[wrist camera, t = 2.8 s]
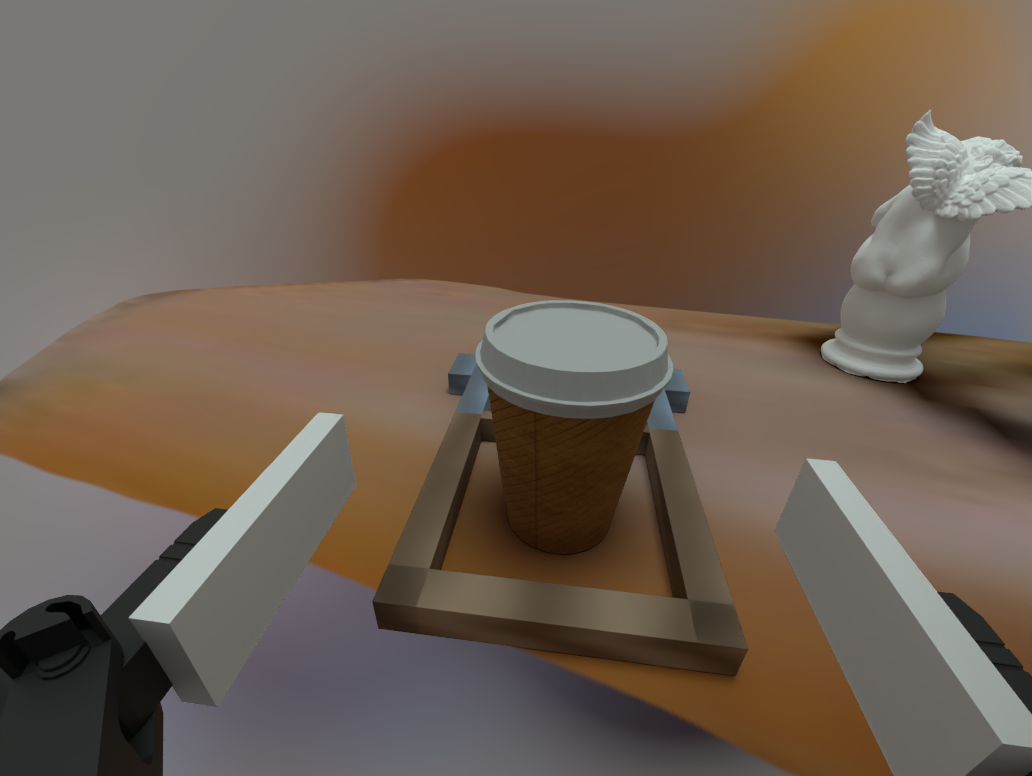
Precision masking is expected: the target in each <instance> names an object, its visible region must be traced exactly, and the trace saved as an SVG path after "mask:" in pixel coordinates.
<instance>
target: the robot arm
mask: <svg viewBox="0 0 1032 776" xmlns="http://www.w3.org/2000/svg"><path fill="white" fill-rule="evenodd" d="M356 485H357V484H356V479H355V474H354V469H353V463H352V458H351V453H350V448H349V442H348V437H347V432H346V427H345V421H344V416H343V415H341V414H331V413H320V412H319V413H318V414H317V415H316V416H315V417H314V418H313V419H312V420H311V421H310V422H309V423H308V425H307V426H306V427H305V428H304V429H303V430H302V431H301V432H300V433H299V434H298V435H297V436H296V437H295V439H294V440H293V441H292V442H291V443H290V444H289V445H288V446H287V447H286V448H285V449H284V450H283V451H282V453H281V454H280V455H279V456H278V457H277V458H276V459H275V460H274V461H273V462H272V463H271V464H270V466H269V467H268V468H267V469H266V470H265V471H264V472H263V473H262V474H261V475H260V476H259V477H258V478H257V480H256V481H255V482H254V483H253V484H252V485H251V486H250V487H249V488H248V489H247V490H246V491H245V493H244V494H243V495H242V496H241V497H240V498H239V499H238V500H237V501H236V502H235V503H234V504H233V505H232V507H231V508H230V509H229V510H226V509H217V508H215V509H214V510H212V511H210V512H209V513H207V514H206V515H204V516H202V517H201V518H199V519H198V520H196V521H195V522H193V523H192V524H191V525H190V526H189V527H188V528H187V529H186V530H185V531H184V532H183V533H182V534H181V535H180V536H179V537H178V538H177V539H176V540H175V541H174V544H173V545H170V546H169V547H168V548H167V549H166V550H165V551H164V552H163V553H162V554H161V555H160V556H159V557H160V558H159V560H155V561H154V562H153V563H152V564H151V565H150V566H149V567H148V568H147V569H146V570H145V571H144V572H143V573H142V574H141V576H139V577H138V578H137V579H136V580H135V582H133V583H132V584H131V585H130V586H129V588H127V589H126V590H125V592H124V593H123V594H122V595H121V596H120V597H119V598H118V599H117V600H116V601H115V602H114V603H113V604H112V605H111V606H110V607H109V608H108V609H107V610H106V611H105V612H104V613H103V614H102V615H101V616H100V614H99V613H98V612H97V610H96V609H95V607H94V606H93V604H92V603H91V601H90V600H88V599H86V598H85V597H83V596H78V595H76V596H75V595H66V596H62V597H58V598H54V599H50V600H47V601H45V602H43V603H40V604H38V605H36V606H34V607H32V608H30V609H28V610H26V611H25V612H23V613H22V614H20V615H19V616H17V617H16V618H14V619H13V620H11V621H10V622H9V623H8V624H6V625H5V626H4V627H3V628H2V629H1V630H0V776H163V710H162V706H161V703H160V701H161V700H162V699H163V697H164V696H165V695H166V693H167V692H168V691H169V689H170V688H171V687H173V688H174V690H175V691H176V693H177V695H178V696H179V698H180V699H181V701H182V702H188V703H195V704H201V705H207V706H213V707H217V706H218V705H219V703H220V702H221V700H222V698H223V697H224V695H225V694H226V692H227V690H228V689H229V687H230V686H231V684H232V682H233V681H234V679H235V678H236V676H237V674H238V673H239V671H240V670H241V668H242V667H243V665H244V663H245V662H246V660H247V659H248V657H249V655H250V654H251V652H252V651H253V649H254V648H255V646H256V644H257V643H258V641H259V640H260V638H261V636H262V634H263V633H264V632H265V630H266V628H267V627H268V625H269V624H270V622H271V620H272V619H273V617H274V616H275V614H276V613H277V611H278V609H279V608H280V606H281V605H282V603H283V601H284V600H285V598H286V596H287V595H288V593H289V592H290V590H291V588H292V587H293V586H294V584H295V582H296V581H297V579H298V578H299V576H300V574H301V573H302V571H303V570H304V568H305V566H306V565H307V563H308V562H309V560H310V559H311V557H312V555H313V554H314V552H315V551H316V549H317V547H318V546H319V544H320V543H321V541H322V539H323V538H324V536H325V535H326V533H327V532H328V530H329V528H330V527H331V525H332V524H333V522H334V520H335V519H336V517H337V516H338V514H339V512H340V511H341V509H342V508H343V506H344V504H345V503H346V501H347V500H348V498H349V497H350V495H351V493H352V492H353V490H354V489H355V487H356ZM774 531H775V533H776V535H777V537H778V539H779V541H780V544H781V546H782V548H783V550H784V552H785V554H786V556H787V558H788V560H789V562H790V564H791V566H792V568H793V570H794V572H795V574H796V576H797V578H798V580H799V583H800V585H801V587H802V589H803V591H804V593H805V595H806V597H807V599H808V601H809V603H810V605H811V607H812V609H813V611H814V613H815V615H816V617H817V620H818V622H819V624H820V626H821V628H822V630H823V632H824V634H825V636H826V638H827V640H828V642H829V644H830V646H831V648H832V650H833V652H834V654H835V657H836V659H837V661H838V663H839V665H840V667H841V669H842V671H843V673H844V675H845V677H846V679H847V681H848V683H849V685H850V687H851V689H852V691H853V694H854V696H855V698H856V700H857V702H858V704H859V706H860V708H861V710H862V712H863V714H864V716H865V718H866V720H867V722H868V724H869V726H870V728H871V731H872V733H873V735H874V737H875V739H876V741H877V743H878V745H879V747H880V749H881V751H882V753H883V755H884V757H885V759H886V761H887V763H888V765H889V768H890V770H891V772H892V774H893V776H1032V676H1031V675H1030V674H1029V673H1028V672H1025V671H1024V670H1023V666H1022V664H1021V663H1020V662H1019V661H1018V659H1017V658H1016V657H1015V656H1014V655H1013V653H1012V652H1011V651H1010V650H1009V649H1006V648H1005V647H1004V645H1005V644H1004V643H1003V641H1002V640H1001V639H1000V638H999V637H998V635H997V634H996V633H995V632H994V631H993V629H992V628H991V627H990V626H989V624H988V623H987V622H986V621H985V620H984V618H983V617H982V616H980V615H979V614H978V613H977V612H975V611H974V610H973V609H972V608H970V607H969V606H968V605H967V604H966V603H964V602H963V601H962V600H961V599H959V598H958V597H957V596H956V595H955V594H953V593H944V592H937V591H936V590H935V589H934V588H933V586H932V585H931V584H930V582H929V581H928V580H927V579H926V577H925V576H924V575H923V573H922V572H921V571H920V570H919V568H918V567H917V566H916V564H915V563H914V562H913V560H912V559H911V558H910V557H909V555H908V554H907V553H906V551H905V550H904V549H903V548H902V546H901V545H900V544H899V542H898V541H897V540H896V539H895V537H894V536H893V535H892V533H891V532H890V531H889V530H888V528H887V527H886V526H885V524H884V523H883V522H882V520H881V519H880V518H879V517H878V515H877V514H876V513H875V511H874V510H873V509H872V508H871V506H870V505H869V504H868V502H867V501H866V500H865V499H864V497H863V496H862V495H861V493H860V492H859V491H858V489H857V488H856V487H855V486H854V484H853V483H852V482H851V480H850V479H849V478H848V477H847V475H846V474H845V473H844V471H843V470H842V469H841V468H840V466H839V465H838V464H837V462H836V461H827V460H816V459H805V462H804V464H803V466H802V469H801V471H800V473H799V475H798V478H797V480H796V482H795V485H794V487H793V489H792V491H791V494H790V496H789V498H788V501H787V503H786V505H785V507H784V510H783V512H782V514H781V517H780V519H779V521H778V523H777V526H776V528H775V530H774Z"/></svg>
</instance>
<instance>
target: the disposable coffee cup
mask: <svg viewBox="0 0 1032 776" xmlns="http://www.w3.org/2000/svg"><path fill="white" fill-rule="evenodd" d="M475 355H476V362H477V367H478V369H479V370H480V372H481V373H482V376H483V379H484V381H485V382H486V384H487V388H488V393H489V400H490V404H491V405H490V408H491V413H492V420H493V424H494V426H493V427H494V432H495V439H496V443H497V444H496V445H497V451H498V458H499V466H500V469H501V470H500V471H501V477H502V484H503V491H504V494H505V495H504V497H505V503H506V509H507V518H508V522H509V524H510V526H511V528H512V529H513V531H514V532H515V533H516V535H517V536H518V537H519V538H520V539H522V540H523V541H524V542H526V543H527V544H529V545H530V546H532V547H535V548H537V549H540V550H542V551H546V552H550V553H557V554H570V553H578V552H581V551H585V550H587V549H589V548H591V547H593V546H595V545H596V544H598V543H599V542H600V541H601V540H602V539H603V538H604V536H605V535H606V534H607V532H608V529H609V527H610V524H611V521H612V518H613V515H614V512H615V510H616V507H617V504H618V501H619V498H620V496H621V493H622V490H623V487H624V484H625V482H626V479H627V476H628V473H629V471H630V468H631V465H632V462H633V459H634V457H635V454H636V451H637V449H638V446H639V443H640V440H641V437H642V435H643V432H644V429H645V426H646V423H647V421H648V418H649V415H650V413H651V410H652V407H653V404H654V401H655V399H656V398H657V397H658V396H659V395H660V393H661V392H662V390H663V389H664V388H665V387H666V386H667V385H668V383H669V381H670V379H671V377H672V373H673V363H672V361H671V358H670V356H669V354H668V343H667V337H666V335H665V333H664V332H663V331H662V329H661V328H660V327H659V326H658V325H656V324H655V323H654V322H652V321H651V320H649V319H647V318H645V317H643V316H641V315H639V314H637V313H634V312H631V311H628V310H625V309H622V308H619V307H615V306H610V305H605V304H600V303H593V302H584V301H563V300H552V301H540V302H532V303H527V304H522V305H519V306H515V307H512V308H509V309H506V310H503V311H502V312H500V313H498V314H496V315H495V316H493V317H492V318H491V319H490V320H489V321H488V323H487V325H486V328H485V332H484V337H483V340H482V341H481V342H480V344H479V345H478V347H477V349H476V354H475Z"/></svg>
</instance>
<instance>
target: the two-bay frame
mask: <svg viewBox="0 0 1032 776" xmlns="http://www.w3.org/2000/svg"><path fill="white" fill-rule="evenodd" d="M448 379H449V394H458V395H462V398H461V400H460V402H459V405H458V407H457V409H456V411H455V414H454V416H453V418H452V421H451V423H450V425H449V427H448V430H447V432H446V434H445V437H444V439H443V441H442V443H441V446H440V448H439V450H438V453H437V455H436V457H435V459H434V462H433V464H432V466H431V469H430V471H429V473H428V475H427V478H426V480H425V482H424V485H423V487H422V489H421V491H420V494H419V496H418V498H417V501H416V503H415V505H414V507H413V510H412V512H411V514H410V517H409V519H408V521H407V523H406V526H405V528H404V530H403V533H402V535H401V537H400V540H399V542H398V544H397V546H396V549H395V551H394V553H393V556H392V558H391V560H390V562H389V565H388V567H387V569H386V572H385V574H384V576H383V578H382V581H381V583H380V585H379V588H378V590H377V592H376V594H375V597H374V599H373V606H374V611H375V615H376V620H377V624H378V628H379V629H387V630H394V631H402V632H409V633H417V634H424V635H432V636H439V637H446V638H454V639H462V640H469V641H477V642H485V643H492V644H500V645H507V646H514V647H522V648H529V649H537V650H544V651H552V652H560V653H567V654H575V655H582V656H590V657H597V658H605V659H612V660H620V661H627V662H635V663H642V664H650V665H658V666H665V667H673V668H680V669H688V670H695V671H703V672H710V673H718V674H725V675H733V676H736V674H737V671H738V669H739V667H740V665H741V663H742V661H743V659H744V657H745V655H746V653H747V651H748V647H747V644H746V641H745V638H744V635H743V632H742V628H741V625H740V622H739V619H738V616H737V613H736V610H735V607H734V604H733V600H732V597H731V594H730V591H729V588H728V585H727V582H726V579H725V576H724V572H723V569H722V566H721V563H720V560H719V557H718V554H717V551H716V548H715V544H714V541H713V538H712V535H711V532H710V529H709V526H708V523H707V520H706V517H705V513H704V510H703V507H702V504H701V501H700V498H699V495H698V492H697V489H696V485H695V482H694V479H693V476H692V473H691V470H690V467H689V464H688V461H687V457H686V454H685V451H684V448H683V445H682V442H681V439H680V436H679V433H678V429H677V426H676V423H675V420H674V417H673V414H672V412H683V413H685V411H686V407H687V403H688V399H689V395H690V390H689V388H688V386H687V383H686V381H685V378H684V376H683V374H682V371H681V369H673V373H672V377H671V379H670V381H669V383H668V385H667V386H666V387H665V388H664V389H663V390H662V392H661V393H660V395H659V396H658V397H657V398H656V399H655V401H654V404H653V407H652V410H651V413H650V415H649V418H648V421H647V423H646V426H645V429H644V432H643V435H642V437H641V440H640V443H639V446H638V449H637V451H636V454H638V455H645V456H646V462H647V467H648V472H649V477H650V482H651V487H652V492H653V497H654V502H655V507H656V512H657V517H658V522H659V527H660V532H661V537H662V542H663V547H664V552H665V557H666V562H667V567H668V572H669V577H670V583H671V588H672V593H673V598H672V597H663V596H655V595H646V594H638V593H629V592H621V591H612V590H604V589H596V588H587V587H579V586H570V585H562V584H553V583H545V582H536V581H528V580H519V579H511V578H503V577H494V576H486V575H477V574H469V573H460V572H452V571H443V570H441V566H442V563H443V560H444V557H445V554H446V550H447V547H448V544H449V541H450V538H451V535H452V531H453V528H454V525H455V522H456V519H457V516H458V512H459V509H460V506H461V503H462V500H463V497H464V493H465V490H466V487H467V484H468V481H469V477H470V474H471V471H472V468H473V465H474V462H475V458H476V455H477V452H478V449H479V446H480V443H481V441H493V442H496V439H495V432H494V427H493V426H494V424H493V420H492V413H491V408H490V405H491V404H490V400H489V393H488V388H487V384H486V382H485V381H484V379H483V376H482V373H481V372H480V370H479V369H478V367H477V362H476V355H475V354H461V353H459V354H458V356H457V358H456V360H455V362H454V364H453V365H452V367H451V369H450V371H449V373H448Z"/></svg>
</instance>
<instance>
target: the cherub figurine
mask: <svg viewBox="0 0 1032 776" xmlns="http://www.w3.org/2000/svg"><path fill="white" fill-rule="evenodd" d="M930 113H931V110H929V111H928V112H927V113H926V114H925V115H924V116H923V117H922V118H921V119H920V121H918V122H916V123H915V125H914V127H913V129H912V131H911V134H909V135H908V136H907V137H906V145H907V147H908V149H906V151H905V152H906V153H905V154H906V155H907V157H908V161H907V164H908V166H909V167H911V168H912V170H911V171H910V172H909V176H910V178H911V181H910V185H909V186H907V187H906V188H905V189H903V190H902V191H901V192H900V193H899V194H897V195H896V196H895V197H893V198H892V199H890V200H889V201H887V202H886V203H884V204H883V205H882V206H880V207H879V208H878V209H877V210H876V212H875V213H874V215H873V218H872V220H871V225H872V226H874V227H877V228H876V230H875V232H874V234H872V235H871V236H870V237H869V238H868V239H867V240H866V241H865V242H864V243H863V244H862V246H861V247H860V248H859V250H858V251H857V253H856V255H855V256H854V258H853V260H852V265H851V277H852V279H853V281H854V283H855V284H854V285H853V287H852V288H851V289H850V290H849V292H848V293H847V295H846V297H845V299H844V301H843V303H842V307H841V313H840V314H841V315H840V316H841V325H842V328H839V329H838V330H837V331H836V332H835V337H836V339H831V340H828V341H826V342H825V343H824V344H823V345H822V347H821V353H822V358H823V359H824V360H825V361H827V362H829V363H830V364H832V365H834V366H837V367H838V368H839V369H841V370H842V371H843V370H844V372H847V373H851V374H853V375H859V376H869V378H873V379H876V380H882V381H895V382H896V381H897V382H899V383H906V382H908V381H911V380H913V379H916V378H917V377H918V376H919V375H920V374H921V373H922V372H923V365H922V363H921V362H920V361H919V360H918V359H917V358H915V357H917V356H919V355H920V354H921V353H922V347H921V346H920V344H921V343H923V342H924V341H925V340H926V339H928V338H929V337H930V336H931V335H932V334H933V333H934V332H935V330H936V329H937V328H938V327H939V325H940V324H941V322H942V320H943V318H944V315H945V310H946V290H945V289H946V288H947V287H949V286H950V285H951V284H953V283H954V282H955V281H956V280H957V279H958V278H959V277H960V276H961V275H962V273H963V272H964V270H965V268H966V265H967V262H968V259H969V245H970V233H971V231H972V229H973V227H974V225H975V224H976V223H977V222H978V221H979V220H980V218H981V216H988V215H993V214H994V213H995V212H999V213H1008V212H1011V211H1013V210H1014V209H1020V210H1023V209H1028V208H1029V207H1031V206H1032V171H1031V169H1028V168H1021V165H1022V158H1023V156H1019V154H1020V152H1019V151H1016V150H1015V149H1014V147H1012V146H1010V145H1008V144H1007V143H1005V140H991V139H990V138H983V137H975V138H970V139H968V140H965V141H959V140H958V139H957V138H955V137H954V136H952V135H951V134H949V133H947V132H945V131H942V130H939V129H938V128H936V127H934V125H933V123H932V120H931V115H930ZM835 364H836V365H835Z"/></svg>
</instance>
